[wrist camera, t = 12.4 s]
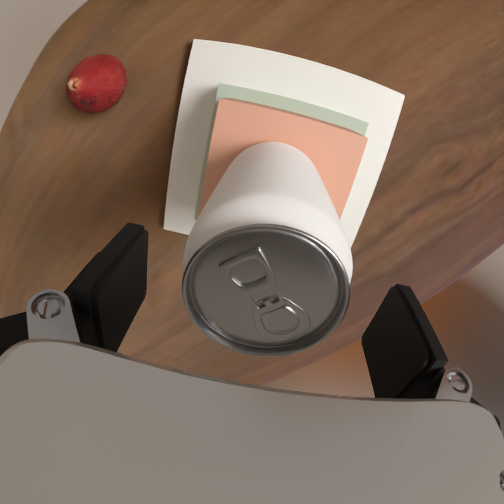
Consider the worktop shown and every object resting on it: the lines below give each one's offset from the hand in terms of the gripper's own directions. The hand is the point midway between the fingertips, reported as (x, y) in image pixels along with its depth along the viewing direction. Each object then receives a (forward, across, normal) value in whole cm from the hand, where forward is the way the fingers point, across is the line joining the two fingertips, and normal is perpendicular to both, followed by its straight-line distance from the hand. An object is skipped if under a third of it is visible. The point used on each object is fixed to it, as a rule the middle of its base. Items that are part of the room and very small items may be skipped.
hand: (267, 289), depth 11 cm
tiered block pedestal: (+20, 0, -1) cm, 20 cm away
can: (+11, 0, 0) cm, 11 cm away
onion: (+20, +18, -6) cm, 28 cm away
